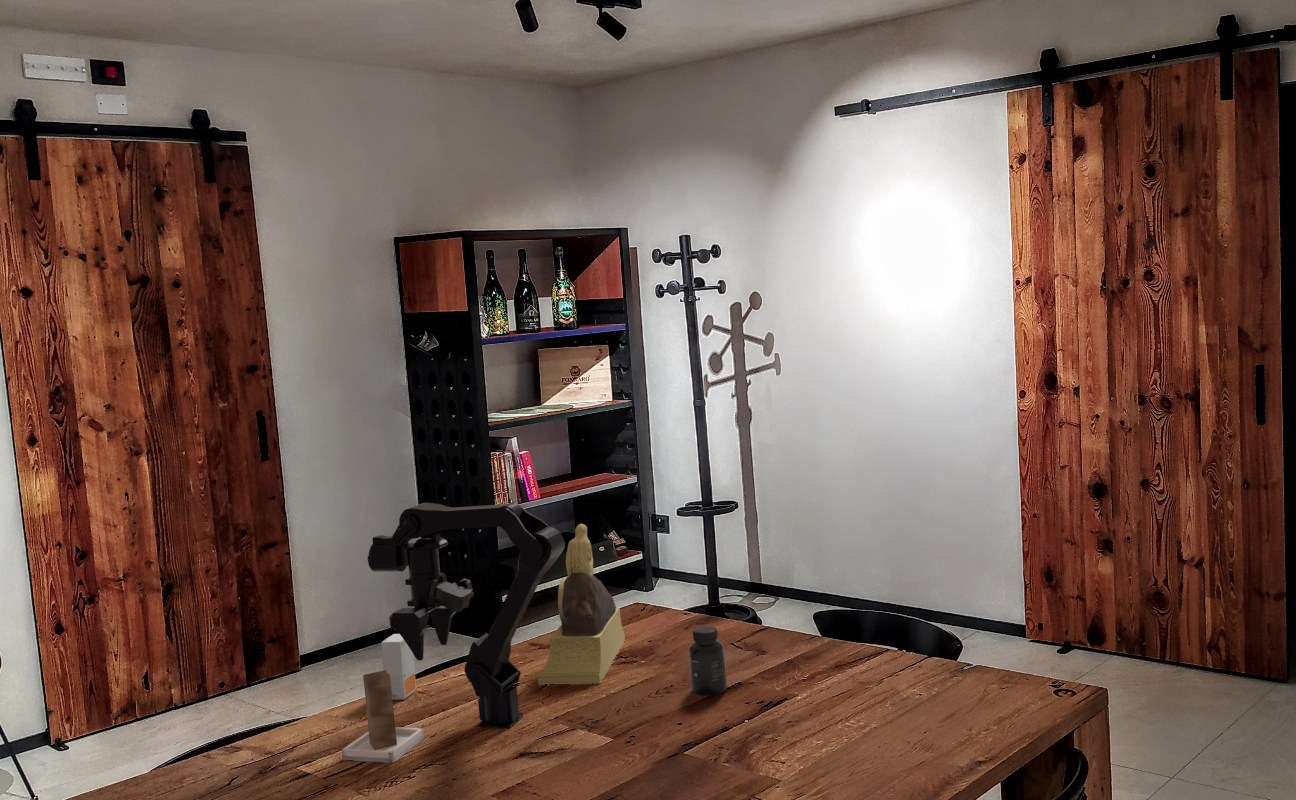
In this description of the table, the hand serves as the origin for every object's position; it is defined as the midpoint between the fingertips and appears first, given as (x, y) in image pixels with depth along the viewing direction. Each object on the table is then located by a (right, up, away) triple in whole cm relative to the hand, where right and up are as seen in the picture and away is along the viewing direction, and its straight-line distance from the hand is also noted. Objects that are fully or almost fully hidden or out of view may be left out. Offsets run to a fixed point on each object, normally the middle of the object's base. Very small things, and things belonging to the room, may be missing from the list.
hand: (432, 652), depth 206 cm
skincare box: (-10, -13, +17) cm, 23 cm away
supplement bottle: (+53, -9, +5) cm, 54 cm away
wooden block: (-6, -14, -12) cm, 19 cm away
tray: (-6, -14, -12) cm, 20 cm away
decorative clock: (+27, -9, +29) cm, 41 cm away
